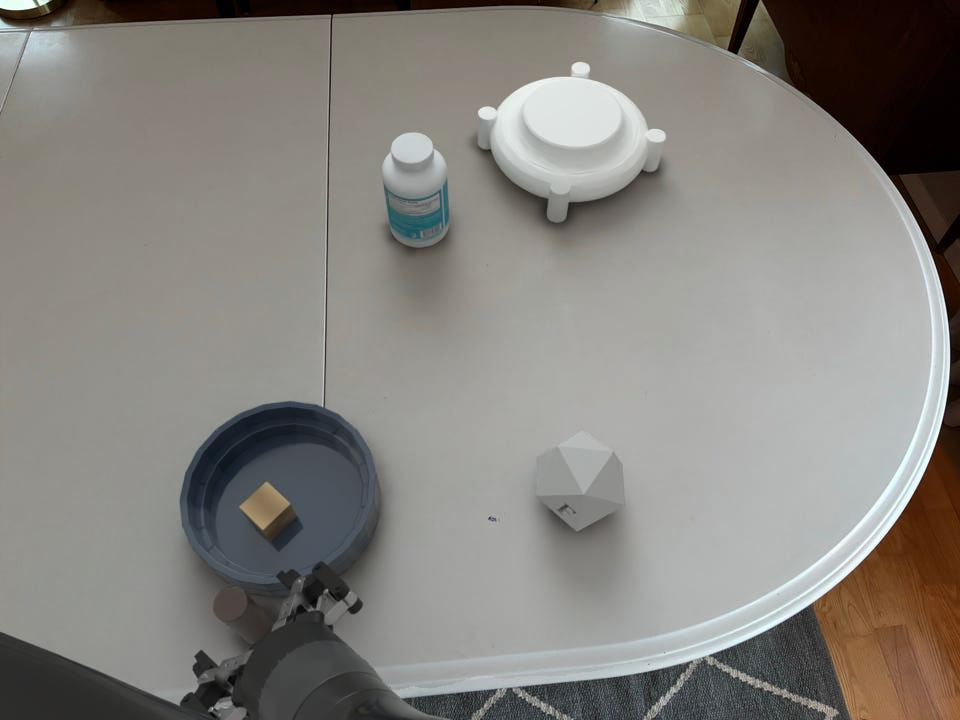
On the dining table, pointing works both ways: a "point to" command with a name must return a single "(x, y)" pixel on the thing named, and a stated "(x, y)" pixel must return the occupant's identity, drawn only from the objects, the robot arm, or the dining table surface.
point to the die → (580, 480)
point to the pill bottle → (416, 191)
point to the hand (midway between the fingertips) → (246, 619)
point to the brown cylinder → (241, 614)
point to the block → (268, 511)
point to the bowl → (297, 477)
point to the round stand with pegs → (569, 139)
